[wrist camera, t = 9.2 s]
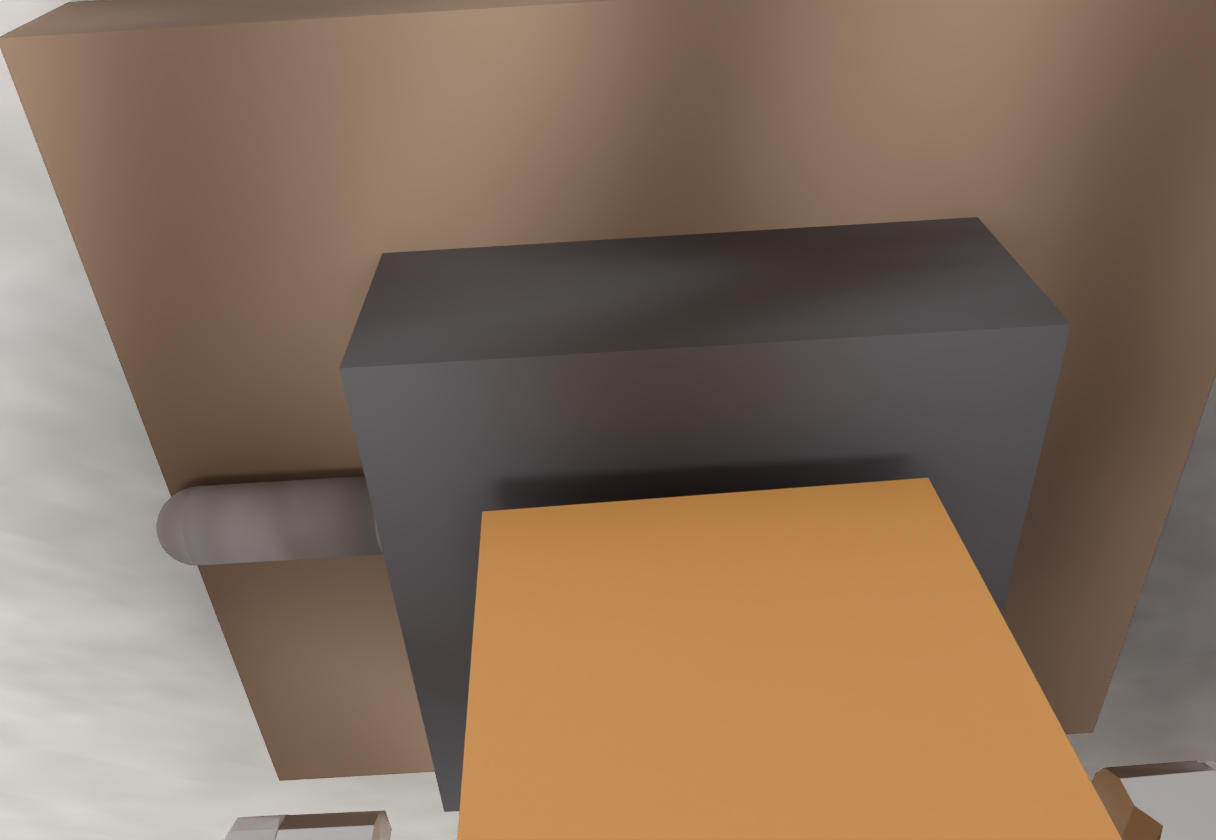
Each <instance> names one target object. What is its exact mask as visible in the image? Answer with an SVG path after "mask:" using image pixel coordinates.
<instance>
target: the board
mask: <svg viewBox="0 0 1216 840" xmlns="http://www.w3.org/2000/svg"><path fill="white" fill-rule="evenodd" d="M0 48H1V51H2V53H3V56H4V59H5V61H6V64H7V66H8V69H9V72H10V74H11V77H12V80H13V82H14V85H15V87H16V90H17V93H18V95H19V98H20V101H21V103H22V106H23V108H24V111H25V114H26V116H27V119H28V122H29V124H30V127H31V129H32V132H33V135H34V137H35V140H36V143H37V145H38V148H39V150H40V153H41V156H42V158H43V161H44V164H45V166H46V169H47V171H48V174H49V177H50V179H51V182H52V185H53V187H54V190H55V192H56V195H57V198H58V200H59V203H60V206H61V208H62V211H63V213H64V216H65V219H66V221H67V224H68V227H69V229H70V232H71V235H72V237H73V240H74V242H75V245H76V248H77V250H78V253H79V256H80V258H81V261H82V263H83V266H84V269H85V271H86V274H87V277H88V279H89V282H90V284H91V287H92V290H93V292H94V295H95V298H96V300H97V303H98V305H99V308H100V311H101V313H102V316H103V319H104V321H105V324H106V326H107V329H108V332H109V334H110V337H111V340H112V342H113V345H114V347H115V350H116V353H117V355H118V358H119V361H120V363H121V366H122V368H123V371H124V374H125V376H126V379H127V382H128V384H129V387H130V389H131V392H132V395H133V397H134V400H135V403H136V405H137V408H138V410H139V413H140V416H141V418H142V421H143V424H144V426H145V429H146V431H147V434H148V437H149V439H150V442H151V445H152V447H153V450H154V453H155V455H156V458H157V460H158V463H159V466H160V468H161V471H162V474H163V476H164V479H165V481H166V484H167V487H168V489H169V492H170V495H171V498H170V499H169V500H168V501H167V502H166V503H165V504H164V506H163V508H162V509H161V511H160V513H159V516H158V520H157V534H158V538H159V541H160V544H161V545H162V547H163V548H164V550H165V551H166V552H167V553H168V554H169V555H170V556H172V557H173V558H174V559H176V560H178V561H180V562H182V563H185V564H189V565H198V568H199V571H200V573H201V576H202V579H203V581H204V584H205V586H206V589H207V592H208V594H209V597H210V600H211V602H212V605H213V607H214V610H215V613H216V615H217V618H218V621H219V623H220V626H221V628H222V631H223V634H224V636H225V639H226V642H227V644H228V647H229V649H230V652H231V655H232V657H233V660H234V663H235V665H236V668H237V671H238V673H239V676H240V678H241V681H242V684H243V686H244V689H245V692H246V694H247V697H248V699H249V702H250V705H251V707H252V710H253V713H254V715H255V718H256V720H257V723H258V726H259V728H260V731H261V734H262V736H263V739H264V741H265V744H266V747H267V749H268V752H269V755H270V757H271V760H272V762H273V765H274V768H275V770H276V773H277V776H278V778H279V781H282V780H299V779H316V778H333V777H350V776H367V775H384V774H400V773H417V772H434V771H435V774H436V778H437V782H438V787H439V791H440V795H441V799H442V803H443V808H444V812H447V811H460V798H461V785H462V772H463V759H464V745H465V732H466V719H467V706H468V693H469V680H470V667H471V653H472V640H473V627H474V614H475V601H476V588H477V575H478V561H479V548H480V535H481V522H482V512H483V511H496V510H509V509H522V508H536V507H549V506H562V505H575V504H588V503H601V502H615V501H628V500H641V499H654V498H667V497H680V496H694V495H707V494H720V493H733V492H746V491H759V490H772V489H786V488H799V487H812V486H825V485H838V484H851V483H865V482H878V481H891V480H904V479H917V478H929V480H930V482H931V484H932V486H933V487H934V489H935V491H936V493H937V495H938V497H939V499H940V501H941V502H942V504H943V506H944V508H945V510H946V512H947V514H948V515H949V517H950V519H951V521H952V523H953V525H954V527H955V529H956V530H957V532H958V534H959V536H960V538H961V540H962V542H963V543H964V545H965V547H966V549H967V551H968V553H969V555H970V557H971V558H972V560H973V562H974V564H975V566H976V568H977V570H978V571H979V573H980V575H981V577H982V579H983V581H984V583H985V585H986V586H987V588H988V590H989V592H990V594H991V596H992V598H993V600H994V601H995V603H996V605H997V607H998V609H999V611H1000V613H1001V614H1002V616H1003V618H1004V620H1005V622H1006V624H1007V626H1008V628H1009V629H1010V631H1011V633H1012V635H1013V637H1014V639H1015V641H1016V642H1017V644H1018V646H1019V648H1020V650H1021V652H1022V654H1023V656H1024V657H1025V659H1026V661H1027V663H1028V665H1029V667H1030V669H1031V670H1032V672H1033V674H1034V676H1035V678H1036V680H1037V682H1038V684H1039V685H1040V687H1041V689H1042V691H1043V693H1044V695H1045V697H1046V699H1047V700H1048V702H1049V704H1050V706H1051V708H1052V710H1053V712H1054V713H1055V715H1056V717H1057V719H1058V721H1059V723H1060V725H1061V727H1062V728H1063V730H1064V732H1065V734H1076V733H1093V730H1094V728H1095V725H1096V722H1097V719H1098V716H1099V713H1100V710H1101V707H1102V704H1103V701H1104V698H1105V696H1106V693H1107V690H1108V687H1109V684H1110V681H1111V678H1112V675H1113V672H1114V669H1115V666H1116V663H1117V661H1118V658H1119V655H1120V652H1121V649H1122V646H1123V643H1124V640H1125V637H1126V634H1127V631H1128V628H1129V626H1130V623H1131V620H1132V617H1133V614H1134V611H1135V608H1136V605H1137V602H1138V599H1139V596H1140V594H1141V591H1142V588H1143V585H1144V582H1145V579H1146V576H1147V573H1148V570H1149V567H1150V564H1151V561H1152V559H1153V556H1154V553H1155V550H1156V547H1157V544H1158V541H1159V538H1160V535H1161V532H1162V529H1163V527H1164V524H1165V521H1166V518H1167V515H1168V512H1169V509H1170V506H1171V503H1172V500H1173V497H1174V494H1175V492H1176V489H1177V486H1178V483H1179V480H1180V477H1181V474H1182V471H1183V468H1184V465H1185V462H1186V459H1187V457H1188V454H1189V451H1190V448H1191V445H1192V442H1193V439H1194V436H1195V433H1196V430H1197V427H1198V425H1199V422H1200V419H1201V416H1202V413H1203V410H1204V407H1205V404H1206V401H1207V398H1208V395H1209V392H1210V390H1211V387H1212V384H1213V381H1214V378H1215V375H1216V0H101V1H84V2H68V3H66V4H64V5H62V6H60V7H58V8H56V9H54V10H52V11H50V12H48V13H46V14H44V15H42V16H40V17H38V18H36V19H34V20H32V21H30V22H28V23H26V24H24V25H22V26H20V27H18V28H16V29H14V30H12V31H10V32H8V33H6V34H5V35H3V36H1V37H0Z"/></svg>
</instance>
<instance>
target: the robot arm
mask: <svg viewBox="0 0 1216 840" xmlns="http://www.w3.org/2000/svg"><path fill="white" fill-rule="evenodd" d="M1092 784H1093V786H1094V788H1095V790H1096V792H1097V794H1098V796H1099V797H1100V799H1101V801H1102V803H1103V805H1104V807H1105V809H1106V811H1107V812H1108V814H1109V816H1110V818H1111V820H1112V822H1113V824H1114V826H1115V827H1116V829H1117V831H1118V833H1119V835H1120V837H1121V839H1122V840H1216V761H1206V762H1197V761H1185V762H1172V763H1159V764H1146V765H1133V766H1120V767H1107V768H1103V769H1102V770H1100V771H1099V772H1097V773H1096V774H1095V777H1094V779H1093V782H1092ZM391 830H392V829H391V826H390V823H389V820H388V817H387V814H386V812H385V811H367V812H346V813H326V814H305V815H273V816H257V817H241V818H237V820H236V821H235V823H234V824H233V826H232V827H231V829H230V831H229V832H228V834H227V835H226V839H225V840H390V836H391Z"/></svg>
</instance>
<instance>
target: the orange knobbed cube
mask: <svg viewBox="0 0 1216 840" xmlns="http://www.w3.org/2000/svg"><path fill="white" fill-rule="evenodd" d="M457 840H1122V839H1121V837H1120V835H1119V833H1118V831H1117V829H1116V827H1115V826H1114V824H1113V822H1112V820H1111V818H1110V816H1109V814H1108V812H1107V811H1106V809H1105V807H1104V805H1103V803H1102V801H1101V799H1100V797H1099V796H1098V794H1097V792H1096V790H1095V788H1094V786H1093V784H1092V783H1091V781H1090V779H1089V777H1088V775H1087V773H1086V771H1085V769H1084V768H1083V766H1082V764H1081V762H1080V760H1079V758H1078V756H1077V755H1076V753H1075V751H1074V749H1073V747H1072V745H1071V743H1070V741H1069V740H1068V738H1067V736H1066V734H1065V732H1064V730H1063V728H1062V727H1061V725H1060V723H1059V721H1058V719H1057V717H1056V715H1055V713H1054V712H1053V710H1052V708H1051V706H1050V704H1049V702H1048V700H1047V699H1046V697H1045V695H1044V693H1043V691H1042V689H1041V687H1040V685H1039V684H1038V682H1037V680H1036V678H1035V676H1034V674H1033V672H1032V670H1031V669H1030V667H1029V665H1028V663H1027V661H1026V659H1025V657H1024V656H1023V654H1022V652H1021V650H1020V648H1019V646H1018V644H1017V642H1016V641H1015V639H1014V637H1013V635H1012V633H1011V631H1010V629H1009V628H1008V626H1007V624H1006V622H1005V620H1004V618H1003V616H1002V614H1001V613H1000V611H999V609H998V607H997V605H996V603H995V601H994V600H993V598H992V596H991V594H990V592H989V590H988V588H987V586H986V585H985V583H984V581H983V579H982V577H981V575H980V573H979V571H978V570H977V568H976V566H975V564H974V562H973V560H972V558H971V557H970V555H969V553H968V551H967V549H966V547H965V545H964V543H963V542H962V540H961V538H960V536H959V534H958V532H957V530H956V529H955V527H954V525H953V523H952V521H951V519H950V517H949V515H948V514H947V512H946V510H945V508H944V506H943V504H942V502H941V501H940V499H939V497H938V495H937V493H936V491H935V489H934V487H933V486H932V484H931V482H930V480H929V478H917V479H904V480H891V481H878V482H865V483H851V484H838V485H825V486H812V487H799V488H786V489H772V490H759V491H746V492H733V493H720V494H707V495H694V496H680V497H667V498H654V499H641V500H628V501H615V502H601V503H588V504H575V505H562V506H549V507H536V508H522V509H509V510H496V511H483V512H482V522H481V535H480V548H479V561H478V575H477V588H476V601H475V614H474V627H473V640H472V653H471V667H470V680H469V693H468V706H467V719H466V732H465V745H464V759H463V772H462V785H461V798H460V811H459V824H458V838H457Z"/></svg>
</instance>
